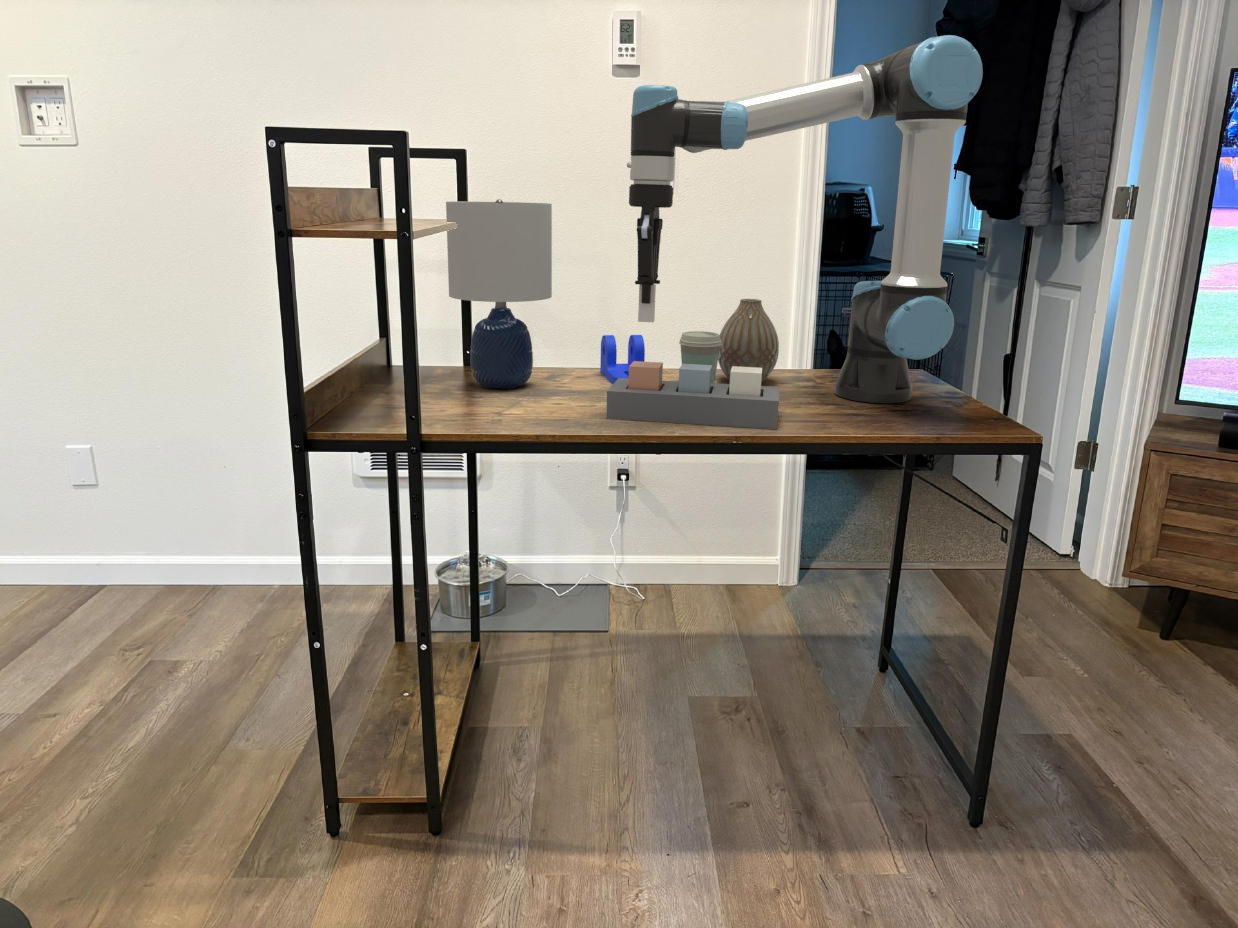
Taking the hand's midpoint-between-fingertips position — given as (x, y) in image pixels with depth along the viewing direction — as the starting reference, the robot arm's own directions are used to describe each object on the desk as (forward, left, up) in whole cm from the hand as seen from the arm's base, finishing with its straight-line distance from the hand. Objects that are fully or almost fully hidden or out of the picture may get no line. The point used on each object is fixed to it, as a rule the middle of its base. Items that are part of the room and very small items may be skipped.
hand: (646, 321), depth 162 cm
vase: (-17, -35, -17) cm, 42 cm away
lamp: (+32, -16, -17) cm, 39 cm away
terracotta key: (0, 0, -12) cm, 12 cm away
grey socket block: (-9, 0, -17) cm, 19 cm away
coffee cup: (-8, -20, -17) cm, 27 cm away
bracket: (+8, -29, -17) cm, 34 cm away
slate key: (-9, 0, -12) cm, 15 cm away
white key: (-18, 0, -12) cm, 22 cm away
